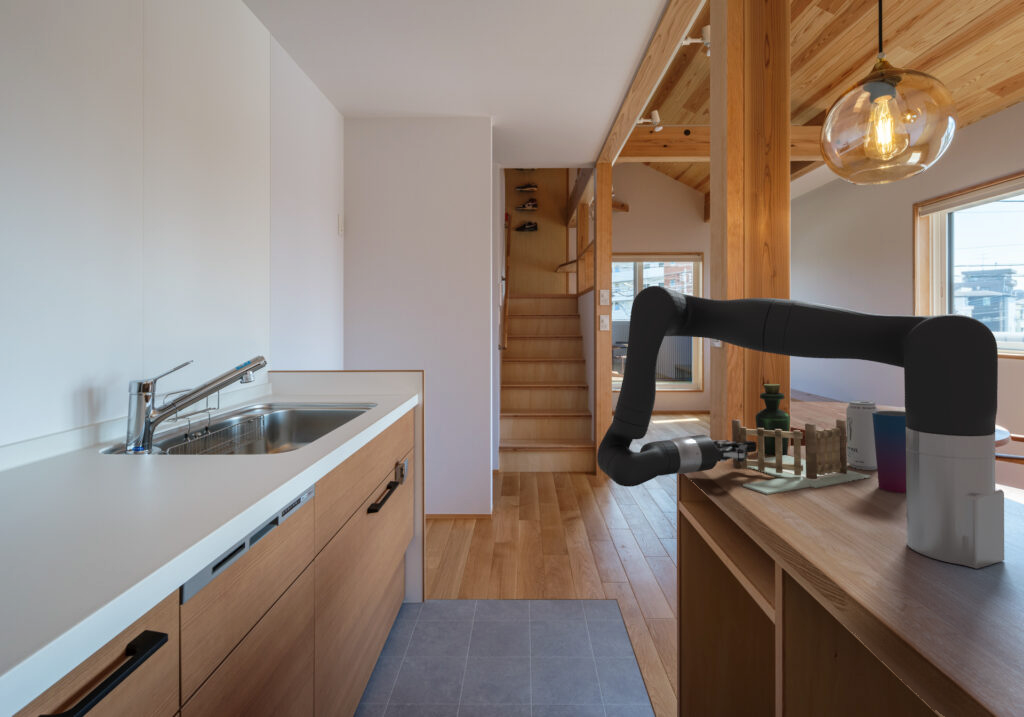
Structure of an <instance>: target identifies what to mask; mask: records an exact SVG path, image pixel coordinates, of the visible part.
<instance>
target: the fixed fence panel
mask: <svg viewBox="0 0 1024 717" xmlns="http://www.w3.org/2000/svg"><path fill="white" fill-rule="evenodd" d="M835 424H836V425H835V426H836V427H831V428H823V429H817V424H816V423H812V422H805V423H804V437H805V438H804V440H805V442H804V443H805V445H804V446H805V448H804V449H805V460H806V478H808V479H817V474H818V475H825V473H827V474H831V473H833V472H836V473H837V472H838V473H842V474H847V470H848V464H847V463H848V462H847V419H842V418H841V419H839V418H838V419H836V420H835Z"/></svg>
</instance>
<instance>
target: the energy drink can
mask: <svg viewBox="0 0 1024 717" xmlns="http://www.w3.org/2000/svg"><path fill="white" fill-rule="evenodd" d="M845 411H846V415H845V416H846V443H847V463H848V464H849V466H851V468H852V467H853V469H855V468H856V470H861V469H862V471H863V470H864V471H875V470H877V461H876V450H875V439H874V427H873V416H872V412H873V411H880V410H879V408H878V407H877V405H876V402H875V401H873V400H850V401H849V404H848V406H847V407H846V410H845Z"/></svg>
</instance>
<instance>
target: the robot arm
mask: <svg viewBox="0 0 1024 717" xmlns="http://www.w3.org/2000/svg"><path fill="white" fill-rule="evenodd" d="M630 310H631V311H630V316H629V318H630V319H629V327H628V328H629V329H628V340H627V348H626V356H625V363H624V369H623V370H624V372H623V376H622V381H621V387H620V390H619V391H620V392H619V395H618V398H617V402H616V406H615V409H614V414H613V417H612V418H613V419H612V422H611V424H610V426H609V427H608V428H607V430H606V432H605V434H604V437H603V438H602V439H601V442H600V444H599V446H598V449H597V456H596V460H597V465H598V468H599V470H601V471H602V473H604V474H606V476H607V477H609V478H610V479H611V480H612V481H613V482H614V483H615V484H617V485H619V486H621V487H625V488H626V487H628V488H629V487H630V488H631V487H636V486H640V485H642V484H644V483H647V482H648V481H651V480H653V479H655V478H656V477H660V476H661V477H662V476H667V475H668V476H669V475H675V474H678V475H682V474H690V473H698V472H704V471H710V470H712V469H714V468H715V467H716V466H717V463H718V462H722V463H723V462H726V461H728V460H733V459H734V458H736V460H738V461H739V462H743V461H744V460H745V459H746V458H747V459H748V456H749V455H748V453H755V452H756V451H757V442H756V441H754V440H753V441H752V440H747V441H743V442H736V441H732V440H731V441H730V440H728V439H714V440H713V439H711V437H710V436H708V435H705V434H698V435H697V434H696V435H688V436H680V437H674V438H671V439H666V440H665V439H664V440H656V441H650V442H647V443H644V445H642V446H641V448H640V450H639V452H635V451H633V450H631V449H630V447H631V444H632V443H633V440H642V439H643V438H644V437H645V436H646V434H647V432H648V430H649V426H650V422H651V418H652V414H653V412H654V406H655V402H656V395H657V394H656V392H657V385H656V384H657V379H656V378H657V362H658V357H659V352H660V348H661V346H662V344H663V340H664V338H665V337H689V338H690V337H691V338H703V339H704V338H705V339H711V340H715V341H720V342H724V343H726V344H730V345H733V346H737V347H739V348H740V347H741V348H745V349H749V350H752V351H756V352H762V353H768V354H776V355H781V356H788V357H797V358H811V359H828V360H829V359H833V360H835V359H840V360H844V359H845V360H859V361H869V362H876V363H880V364H884V365H889V366H894V367H899V368H903V369H904V370H903V371H904V372H903V374H904V375H903V376H904V382H903V383H904V412H905V415H906V493H905V495H906V544H907V545H908V548H910V549H912V550H913V551H915V552H916V553H919V554H921V555H923V556H926V557H928V558H931V559H935V560H938V561H941V562H944V563H945V562H947V563H950V564H957V565H963V566H966V567H970V568H972V569H980V568H981V569H982V568H984V567H987V566H991V565H995V564H997V563H1000V562H1004V561H1005V492H1004V490H1002V489H1001V488H996V420H997V413H998V389H999V388H998V382H999V378H998V376H999V368H998V367H999V360H998V359H999V356H998V355H999V354H998V353H999V352H998V344H997V340H996V337H995V334H994V333H993V332H992V330H991V329H990V328H989V327H988V326H987V325H986V324H984V323H983V322H981V321H980V320H978V319H977V318H974V317H971V316H969V315H963V314H957V313H946V314H938V315H903V314H902V315H898V314H897V315H896V314H877V313H868V312H864V311H860V310H859V311H858V310H853V309H850V308H845V307H840V306H834V305H830V304H829V305H828V304H824V303H818V302H812V301H806V300H797V299H788V298H787V299H785V298H774V297H771V298H769V297H751V298H737V299H724V300H723V299H711V298H710V299H709V298H705V297H699V296H695V295H689V294H686V293H685V294H684V293H681V292H679V291H676V290H673V289H670V288H668V287H664V286H661V285H651V286H650V285H649V286H647V287H645V288H644V289H641V290H640V291H639V292H638V293H637V294H636V295H635V297H634V299H633V302H632V305H631V308H630Z"/></svg>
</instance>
